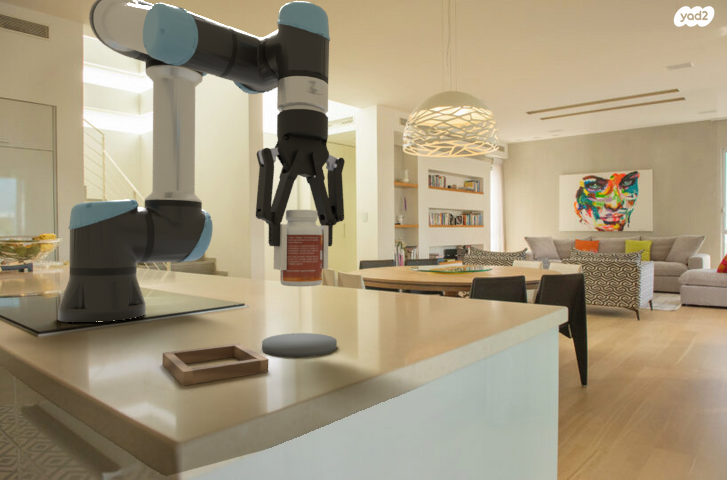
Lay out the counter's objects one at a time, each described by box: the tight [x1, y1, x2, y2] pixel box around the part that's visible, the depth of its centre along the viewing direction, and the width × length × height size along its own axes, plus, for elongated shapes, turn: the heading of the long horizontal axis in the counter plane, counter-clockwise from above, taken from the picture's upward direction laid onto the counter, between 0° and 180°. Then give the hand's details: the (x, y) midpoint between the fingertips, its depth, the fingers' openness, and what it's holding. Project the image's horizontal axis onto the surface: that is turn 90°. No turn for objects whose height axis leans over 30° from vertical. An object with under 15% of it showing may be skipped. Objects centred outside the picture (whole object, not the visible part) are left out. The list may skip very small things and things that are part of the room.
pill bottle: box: [279, 209, 323, 287], centre depth 69 cm, size 6×6×11 cm
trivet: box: [261, 332, 338, 358], centre depth 69 cm, size 11×11×1 cm
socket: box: [162, 343, 269, 387], centre depth 58 cm, size 10×10×2 cm
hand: (301, 268), depth 69 cm, fingers closed on pill bottle, 6 cm apart
